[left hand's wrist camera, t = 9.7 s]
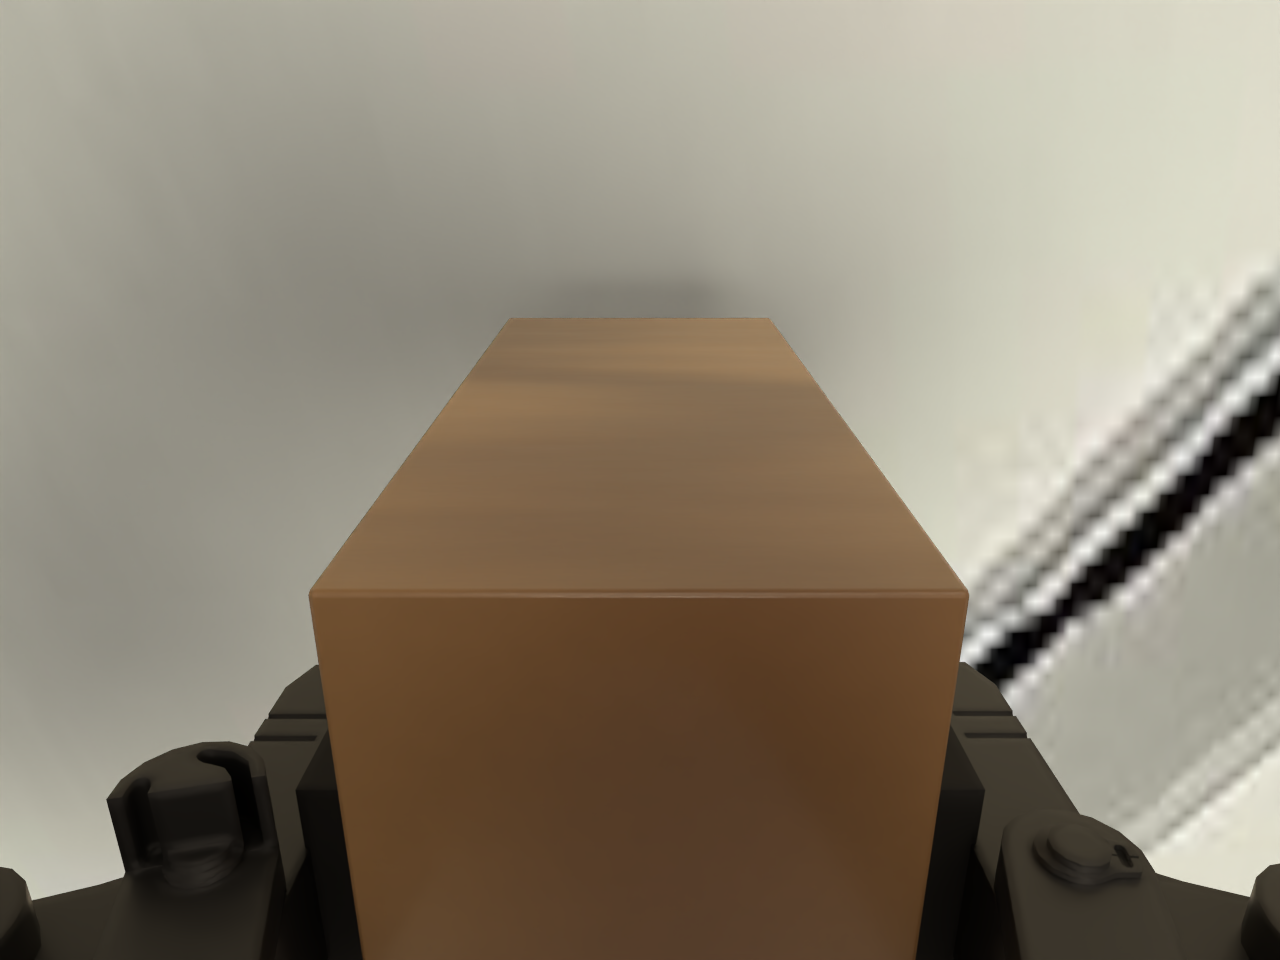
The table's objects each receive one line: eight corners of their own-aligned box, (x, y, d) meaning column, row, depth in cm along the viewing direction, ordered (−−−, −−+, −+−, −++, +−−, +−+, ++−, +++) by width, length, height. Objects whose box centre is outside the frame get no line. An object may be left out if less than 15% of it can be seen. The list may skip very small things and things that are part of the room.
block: (527, 681, 19) (405, 1266, 9) (508, 317, 16) (304, 592, 6) (751, 681, 19) (872, 1267, 9) (770, 317, 16) (973, 591, 6)
